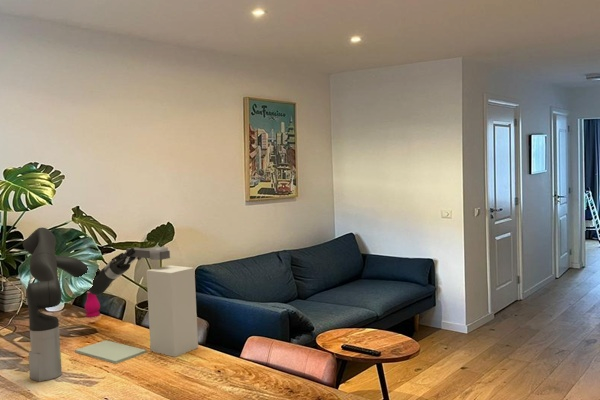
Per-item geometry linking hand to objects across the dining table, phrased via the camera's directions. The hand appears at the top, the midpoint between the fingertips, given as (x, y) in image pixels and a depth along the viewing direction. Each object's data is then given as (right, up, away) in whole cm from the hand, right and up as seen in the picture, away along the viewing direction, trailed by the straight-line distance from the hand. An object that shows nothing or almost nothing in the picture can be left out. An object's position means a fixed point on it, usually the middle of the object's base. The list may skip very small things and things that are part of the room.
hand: (138, 249), depth 221 cm
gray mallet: (+5, -3, -3) cm, 7 cm away
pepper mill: (-38, -38, +49) cm, 72 cm away
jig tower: (+17, -39, -9) cm, 43 cm away
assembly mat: (-8, -40, -10) cm, 42 cm away
